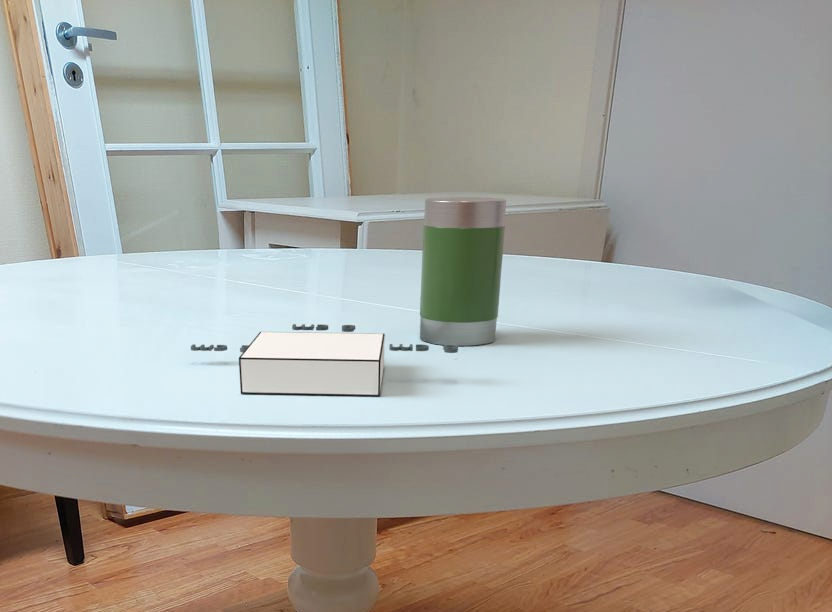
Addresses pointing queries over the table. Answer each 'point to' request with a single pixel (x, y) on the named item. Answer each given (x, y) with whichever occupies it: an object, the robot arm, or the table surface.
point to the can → (461, 269)
